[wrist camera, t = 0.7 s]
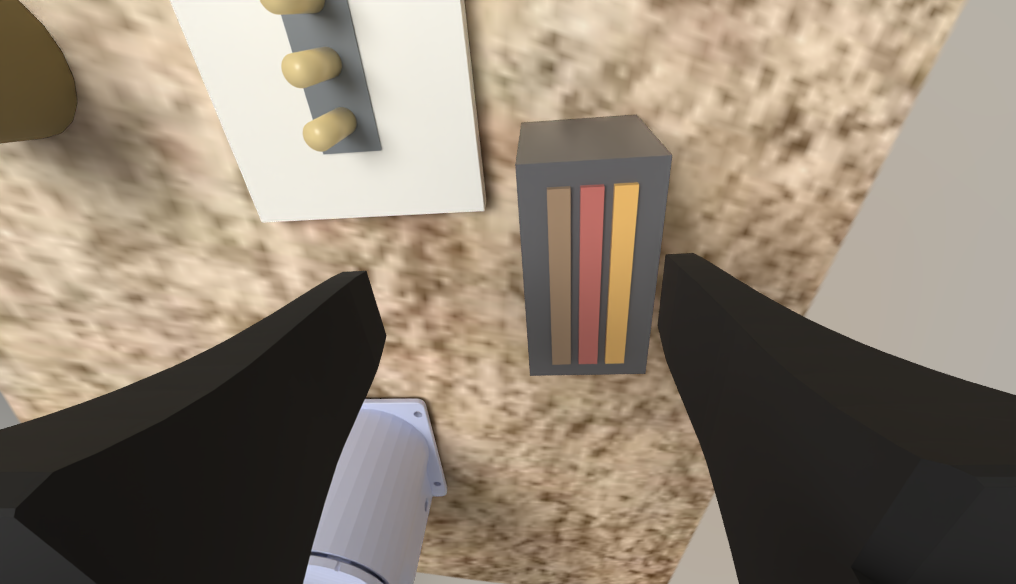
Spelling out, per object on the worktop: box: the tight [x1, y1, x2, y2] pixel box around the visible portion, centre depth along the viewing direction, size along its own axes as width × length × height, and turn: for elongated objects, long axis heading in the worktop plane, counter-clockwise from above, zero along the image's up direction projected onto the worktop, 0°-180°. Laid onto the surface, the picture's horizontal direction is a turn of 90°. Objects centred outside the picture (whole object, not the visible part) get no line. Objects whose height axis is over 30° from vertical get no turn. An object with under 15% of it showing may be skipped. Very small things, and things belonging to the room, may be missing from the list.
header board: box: [170, 0, 487, 222], centre depth 15 cm, size 12×10×4 cm
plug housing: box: [515, 115, 672, 376], centre depth 17 cm, size 8×4×6 cm, turn 4°
